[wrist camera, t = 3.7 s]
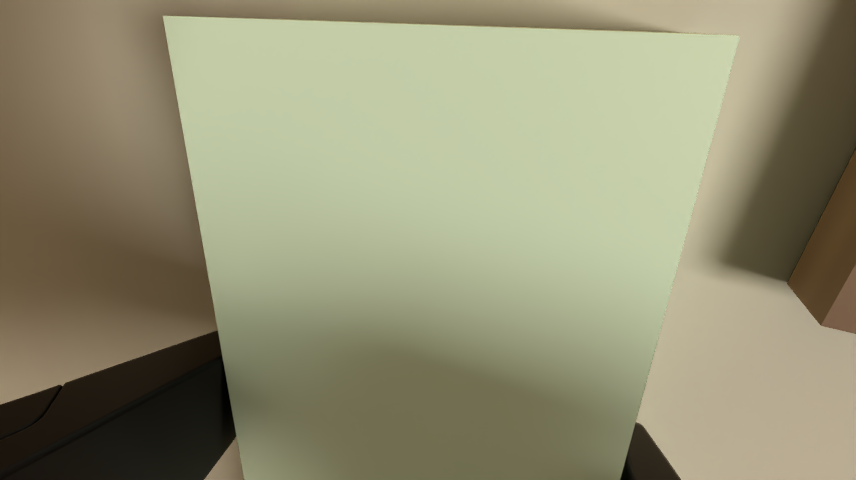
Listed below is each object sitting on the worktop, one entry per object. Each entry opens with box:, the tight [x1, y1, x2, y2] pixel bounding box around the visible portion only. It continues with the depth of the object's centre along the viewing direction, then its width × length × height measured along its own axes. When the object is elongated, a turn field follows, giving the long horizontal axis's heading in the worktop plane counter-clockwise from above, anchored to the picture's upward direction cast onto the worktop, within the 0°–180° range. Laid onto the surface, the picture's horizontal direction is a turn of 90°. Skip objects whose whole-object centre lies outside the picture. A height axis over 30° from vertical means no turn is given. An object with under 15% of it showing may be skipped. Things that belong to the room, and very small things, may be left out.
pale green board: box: [163, 16, 740, 480], centre depth 9 cm, size 6×12×3 cm, turn 178°
